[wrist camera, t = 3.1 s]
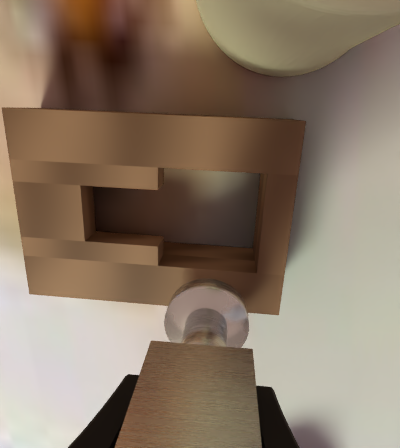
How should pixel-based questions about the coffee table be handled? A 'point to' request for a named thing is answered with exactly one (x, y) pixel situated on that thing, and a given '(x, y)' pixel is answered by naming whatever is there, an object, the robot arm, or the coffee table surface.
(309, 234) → the coffee table surface
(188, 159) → the keyhole plate
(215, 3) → the can
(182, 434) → the steel peg
